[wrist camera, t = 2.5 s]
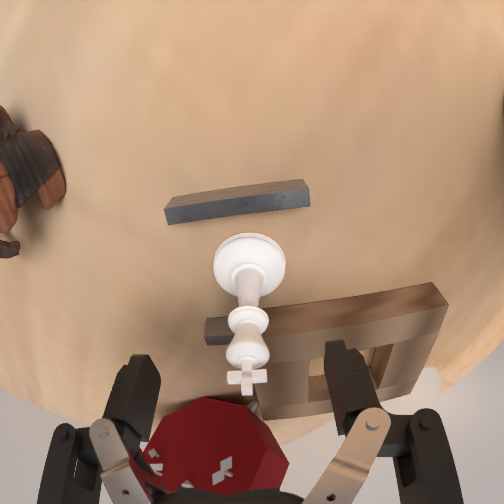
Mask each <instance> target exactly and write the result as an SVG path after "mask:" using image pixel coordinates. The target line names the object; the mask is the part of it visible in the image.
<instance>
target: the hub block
mask: <svg viewBox="0 0 504 504" xmlns="http://www.w3.org/2000/svg"><path fill="white" fill-rule="evenodd" d="M448 305H449V304H448V302H447V301H446V300H445V298H444V297H443V296H442V294H441V293H440V292H439V290H438V289H437V288H436V286H435V285H434V284H433V283H427V284H422V285H417V286H412V287H407V288H401V289H396V290H390V291H385V292H379V293H373V294H367V295H361V296H355V297H349V298H342V299H335V300H328V301H321V302H314V303H306V304H299V305H291V306H282V307H274V308H265V309H262V310H263V311H265V312H266V314H267V315H268V318H269V323H268V326H267V329H266V330H265V331H264V332H263V333H262V334H261V336H262V339H263V341H264V342H265V344H266V345H267V348H268V350H269V354H270V356H269V360H268V361H267V363H266V364H265V365H263V366H262V367H260V368H257V369H253V370H259V369H266V371H267V382H266V383H254V386H255V390H256V394H257V398H258V402H259V406H260V410H261V413H262V417H263V421H264V420H277V419H287V418H296V417H304V416H311V415H318V414H324V413H330V412H333V408H332V403H331V399H330V394H329V390H328V385H327V381H326V377H325V375H322V376H316V377H309V359H311V358H318V357H324V355H325V343H326V341H331V340H337V339H343V340H344V342H345V345H346V348H347V350H349V349H354V348H356V349H357V350H358V351H359V350H364V349H369V348H374V347H376V348H375V352H374V356H373V360H372V364H371V367H367V368H368V371H369V375H370V377H371V379H372V382H373V385H374V388H375V391H376V394H377V397H378V400H379V402H382V401H386V400H389V399H393V398H397V397H400V396H403V395H407V394H410V392H411V391H412V389H413V387H414V385H415V383H416V381H417V379H418V377H419V375H420V373H421V371H422V369H423V367H424V365H425V363H426V360H427V358H428V356H429V354H430V352H431V349H432V347H433V345H434V342H435V340H436V337H437V335H438V332H439V330H440V327H441V325H442V322H443V319H444V317H445V314H446V311H447V308H448Z"/></svg>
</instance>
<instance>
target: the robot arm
mask: <svg viewBox="0 0 504 504" xmlns="http://www.w3.org/2000/svg"><path fill="white" fill-rule="evenodd" d="M324 372H325V377H326V381H327V385H328V390H329V394H330V399H331V403H332V408H333V412H334V417H335V421H336V426H337V431H338V435H344V434H345V437H346V439H345V441H344V442H343V444H342V446H341V448H340V449H339V451H338V453H337V454H336V456H335V457H334V459H333V460H332V461H331V462H330V464H329V465H328V467H327V469H326V470H325V471H324V473H323V475H322V476H321V477H320V479H319V480H318V482H317V483H316V485H315V486H314V488H313V489H312V491H311V492H310V493H309V495H308V496H307V497H306V499H304V498H302V497H300V496H297V495H295V494H292V493H287V492H281V491H280V489H279V488H271V489H253V490H249V491H245V492H241V493H236V494H231V495H222V494H218V493H214V492H211V491H207V490H204V489H198V488H186V487H177V491H174V492H169V490H168V489H167V487H166V486H165V485H164V484H163V483H162V482H161V481H160V480H159V479H158V477H157V476H156V474H155V473H154V471H153V469H152V468H151V466H150V464H149V463H148V461H147V459H146V457H145V456H144V454H143V452H142V450H141V449H140V447H139V445H140V441H142V442H149V437H150V432H151V427H152V423H153V418H154V413H155V408H156V404H157V399H158V395H159V391H160V386H161V378H160V374H159V372H158V370H157V369H156V367H155V365H154V363H153V362H152V360H151V358H150V356H149V355H138V354H134V355H132V356H131V358H130V360H129V363H128V365H124V366H123V367H122V368H121V369H120V371H119V372H118V373H117V376H116V379H115V384H113V387H112V391H111V393H110V396H109V399H108V402H107V405H106V408H105V411H104V414H103V417H102V419H98V420H96V421H95V422H94V423H93V424H92V425H91V427H86V428H78V429H75V428H74V427H73V426H72V425H70V424H68V423H63V424H60V425H59V426H58V427H57V428H56V429H55V431H54V433H53V437H52V441H51V444H50V447H49V451H48V455H47V458H46V463H45V467H44V471H43V475H42V480H41V484H40V489H39V494H38V500H37V504H99V498H100V490H101V484H102V481H103V484H104V486H105V488H106V490H107V492H108V494H109V496H110V498H111V500H112V502H113V504H351V503H352V502H353V500H354V498H355V497H356V495H357V493H358V492H359V490H360V488H361V487H362V485H363V483H364V481H365V480H366V478H367V476H368V473H369V470H370V467H371V466H372V463H373V462H374V460H375V458H376V457H393V462H394V467H395V472H396V478H397V484H398V490H399V496H400V502H401V504H464V503H463V498H462V493H461V488H460V483H459V480H458V475H457V471H456V467H455V464H454V460H453V456H452V453H451V449H450V446H449V442H448V439H447V436H446V432H445V429H444V426H443V423H442V420H441V418H440V415H439V414H438V413H437V412H436V411H434V410H432V409H428V408H425V409H421V410H418V411H417V412H416V413H415V414H414V415H393V414H390V413H388V412H387V411H385V410H384V409H383V408H382V406H381V405H380V403H379V400H378V397H377V394H376V391H375V388H374V385H373V382H372V379H371V377H370V375H369V371H368V368H367V365H366V363H365V360H364V357H363V356H362V355H361V354H360V352H359V351H358V350H357V349H356V348H354V349H349V350H347V348H346V345H345V342H344V340H343V339H337V340H331V341H326V343H325V355H324ZM77 460H78V461H77ZM76 462H77V466H76ZM75 467H76V470H75ZM74 472H75V475H74Z"/></svg>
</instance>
